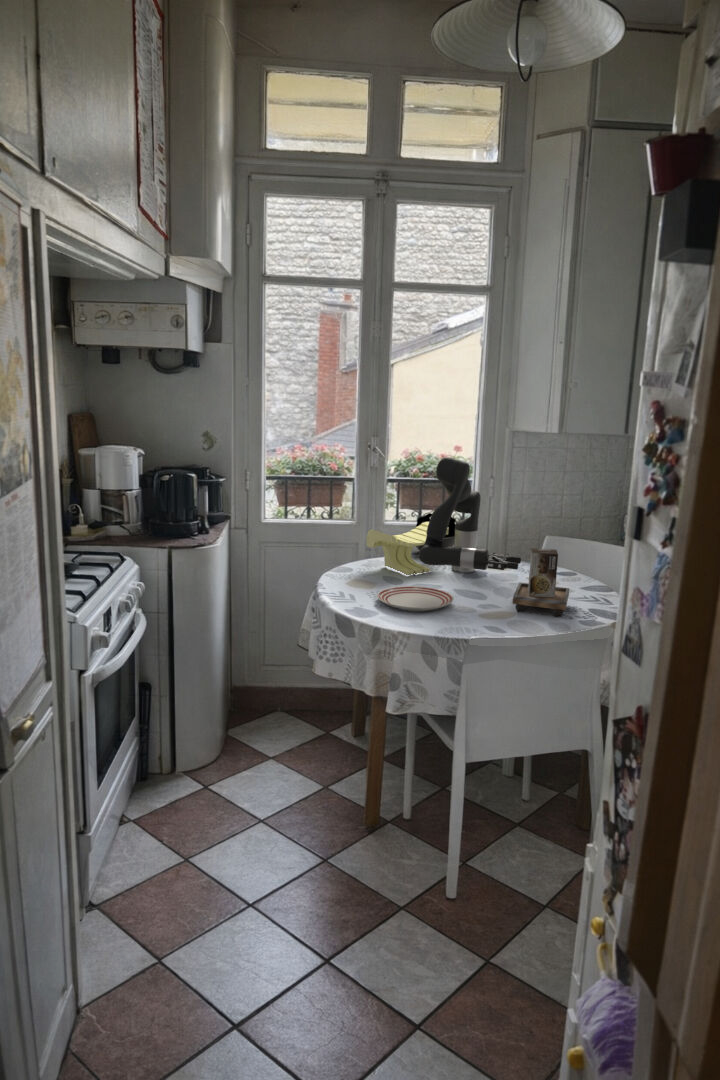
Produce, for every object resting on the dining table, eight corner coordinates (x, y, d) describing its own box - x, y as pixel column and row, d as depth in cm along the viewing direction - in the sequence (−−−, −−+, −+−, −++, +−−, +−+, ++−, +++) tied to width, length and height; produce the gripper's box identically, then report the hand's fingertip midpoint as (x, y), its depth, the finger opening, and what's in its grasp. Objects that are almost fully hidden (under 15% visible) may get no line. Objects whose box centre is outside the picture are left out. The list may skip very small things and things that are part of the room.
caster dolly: (511, 612, 279) (513, 596, 278) (518, 597, 296) (519, 582, 295) (564, 619, 274) (566, 602, 273) (567, 604, 291) (569, 588, 290)
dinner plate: (364, 596, 292) (364, 587, 292) (430, 589, 303) (431, 581, 302) (396, 620, 268) (397, 610, 267) (467, 612, 279) (468, 603, 278)
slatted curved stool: (420, 560, 344) (422, 520, 339) (446, 569, 331) (448, 527, 327) (365, 570, 326) (367, 527, 322) (390, 579, 313) (392, 535, 309)
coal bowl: (401, 553, 355) (403, 511, 350) (434, 547, 367) (436, 507, 362) (431, 563, 339) (434, 520, 335) (465, 557, 351) (468, 515, 347)
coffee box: (553, 592, 287) (557, 549, 283) (554, 598, 281) (559, 553, 277) (527, 590, 288) (531, 547, 284) (528, 596, 282) (532, 551, 278)
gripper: (471, 552, 281) (518, 557, 277) (478, 544, 294) (522, 548, 290) (470, 573, 283) (516, 578, 278) (476, 563, 296) (520, 568, 292)
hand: (519, 563), depth 284 cm, fingers open, 8 cm apart
